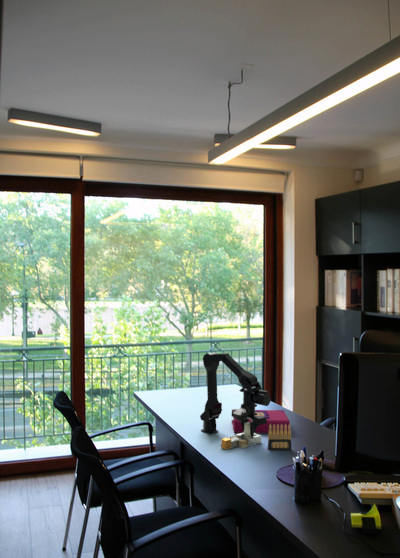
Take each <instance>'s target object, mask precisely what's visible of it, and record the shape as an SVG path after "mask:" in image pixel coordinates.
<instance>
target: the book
mask: <svg viewBox="0 0 400 558" xmlns="http://www.w3.org/2000/svg"><path fill="white" fill-rule="evenodd" d="M238 409H239V408H238ZM238 409H235V408H234V409H231V412H232V411H233V410H238ZM255 413H257V415H255V417H257V416H263V417H266V418H267V423H266V424H262V425H258V427H257V429H256V431H255V434H268V433H269V425H270V424H271V427H272V432H273V425H274V424H275V432H276V430H277V424H279V433H280V428H281V424H282V425H283V435H284V427H285V424H286V426H287V435H288V426H289V424H290V425H291V422H290V419H289V418H288V416H287V414H286V412H285V411H284V409H283V410H282V409H276V410H273V409H255ZM232 418H233V419H231V424H232V429H233V433H234V434H235V433H236V434H240V433H244V431H243V428H242V425H241V422H240V421H239V420H237V419H235V418H234V417H232ZM251 421H252V420H251V419H249V422H251Z"/></svg>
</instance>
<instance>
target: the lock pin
mask: <svg viewBox="0 0 400 558" xmlns="http://www.w3.org/2000/svg"><path fill="white" fill-rule="evenodd" d="M239 440H241V439H239V438H237V437H236V438H232V439H230V437H224V438H221V440H220V441H221V445H220V447H221V449H223V450H229V449H232V448H237V447H239Z"/></svg>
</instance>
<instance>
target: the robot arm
mask: <svg viewBox="0 0 400 558" xmlns="http://www.w3.org/2000/svg"><path fill="white" fill-rule="evenodd" d="M220 362H222V363H223V364H224V365H225V366H226V367H227V368H228V369H229V370H230V372H231V373H233V374H234V376H236V377H237V381H238V383H239V384H240V385H241V386H242V388H241V389H239V392H242V393H243V394H242V396H243V397H242V400H243V403H241V404H240V408H238V410H233V409H232V410H233V411H232V410H231V417H232V418H233V417H234V418H235V419H237V420H239V421H240V422H241V425H242V428H243V431H244V423H246V422H249V419H251V420H252V421H251V422H249V425H250V434H251V436H253V435H254V433H255V431H256V429H257V427H258V425H262V424H266V423H267V418H266V417H263V416H257V417H255V415H257V413H255V410H256V408H257V407H258V405H259V406H264V407H268V406H269V405H270V404H271V395H270V394H269V391H268V390H263V388H262V386H261V384H260V382H259V380H258V377H257V376H256V375H254V374H253V373H252V372H249V371H247V370H245V369H244V367H242V366H241V365H240V364H239V363H238V362H237V361H236V360H235V359H234V358H233V357H232V356H231V355H230V353H228V352H222V353H217V352H215V351H214V352H209V353H205V354H204V355H203V356H202V363H203V367H204V368H205V371H206V382H207V383H206V389H207V391H206V393H207V400H206V402H205V405H204V410H203V412H202V413H201V414H200V415H199V418H200V421H202V422H203V425H202V429H200V431H201V432H203V433H205V434H208V435H210V434H213V433H219V430H218V429H217V420H216V419H219V417H220V415H222V411H223V409H222V408H223V405H222V402H220V401H219V399H218V380H217V379H218V377H217V376H218V373H217V372H218V371H217V370H218V368H219V367H220ZM255 434H256V433H255Z"/></svg>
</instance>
